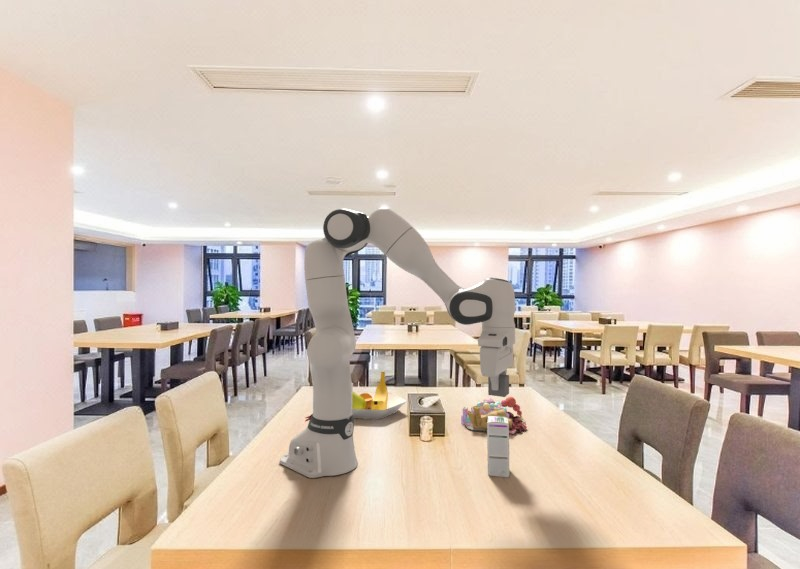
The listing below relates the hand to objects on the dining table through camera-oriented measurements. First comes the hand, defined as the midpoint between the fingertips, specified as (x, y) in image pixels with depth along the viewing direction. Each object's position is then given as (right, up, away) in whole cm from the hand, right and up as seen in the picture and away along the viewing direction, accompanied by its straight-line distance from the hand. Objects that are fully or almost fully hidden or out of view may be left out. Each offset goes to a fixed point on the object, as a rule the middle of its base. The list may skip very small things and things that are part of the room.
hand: (498, 387), depth 111 cm
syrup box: (0, -23, 0) cm, 23 cm away
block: (0, -2, 0) cm, 2 cm away
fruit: (-39, -24, +53) cm, 70 cm away
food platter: (+8, -24, +40) cm, 48 cm away
